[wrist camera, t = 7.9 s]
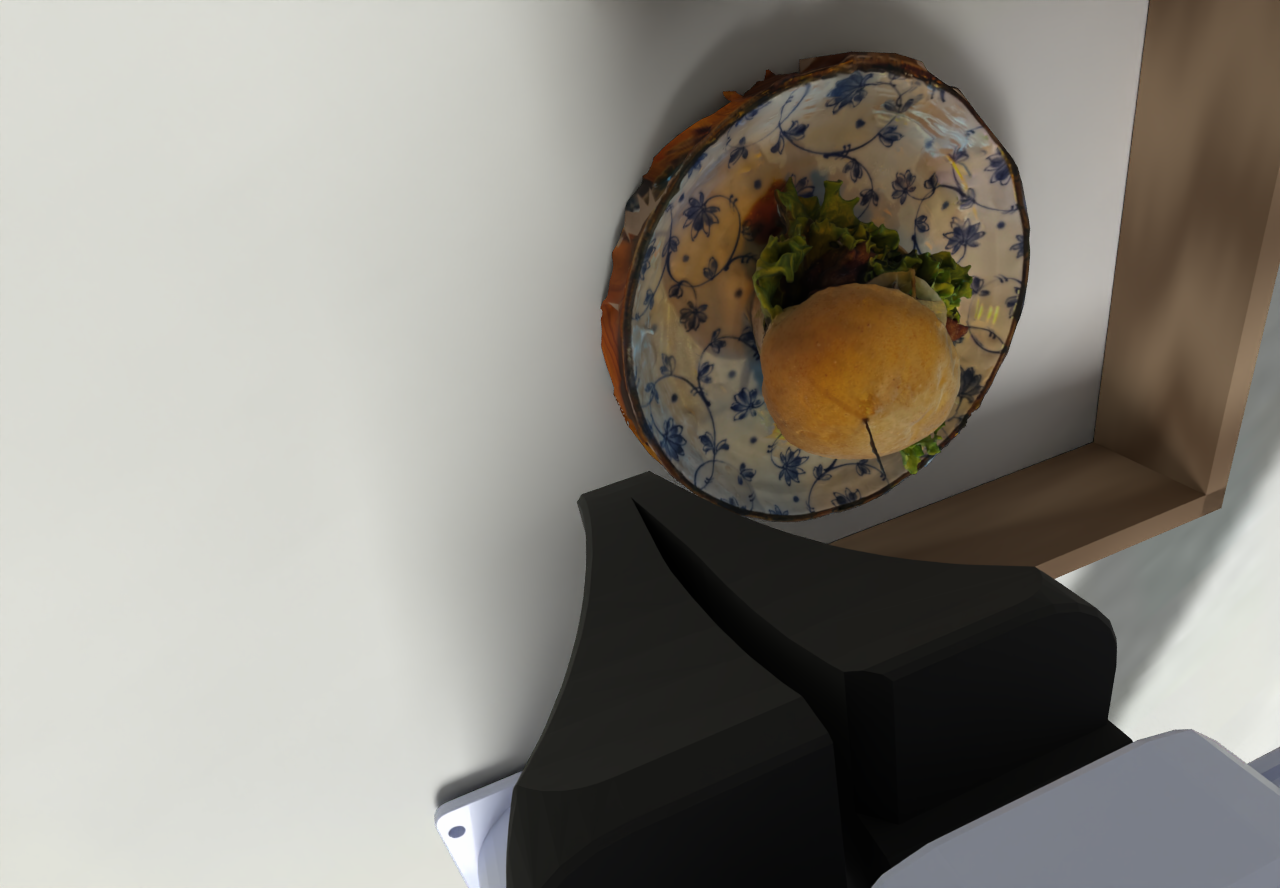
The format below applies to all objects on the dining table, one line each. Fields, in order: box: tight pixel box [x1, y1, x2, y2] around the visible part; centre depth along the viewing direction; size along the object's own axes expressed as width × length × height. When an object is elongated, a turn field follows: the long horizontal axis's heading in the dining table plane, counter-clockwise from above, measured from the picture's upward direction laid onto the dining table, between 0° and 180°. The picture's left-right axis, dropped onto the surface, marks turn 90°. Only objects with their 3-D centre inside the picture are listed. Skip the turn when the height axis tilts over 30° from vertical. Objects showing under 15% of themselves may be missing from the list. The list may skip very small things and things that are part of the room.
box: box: [829, 0, 1280, 579], centre depth 18 cm, size 18×16×4 cm
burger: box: [601, 52, 1030, 522], centre depth 17 cm, size 12×12×8 cm
